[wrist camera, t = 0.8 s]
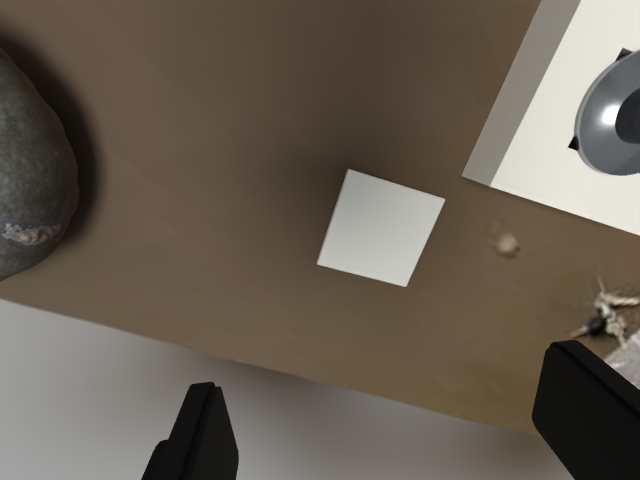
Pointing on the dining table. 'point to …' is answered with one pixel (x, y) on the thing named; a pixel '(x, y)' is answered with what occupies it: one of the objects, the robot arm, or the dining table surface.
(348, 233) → the mat
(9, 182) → the gourd
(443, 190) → the dining table surface
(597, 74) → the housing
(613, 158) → the grey round knobbed piece
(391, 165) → the dining table surface
